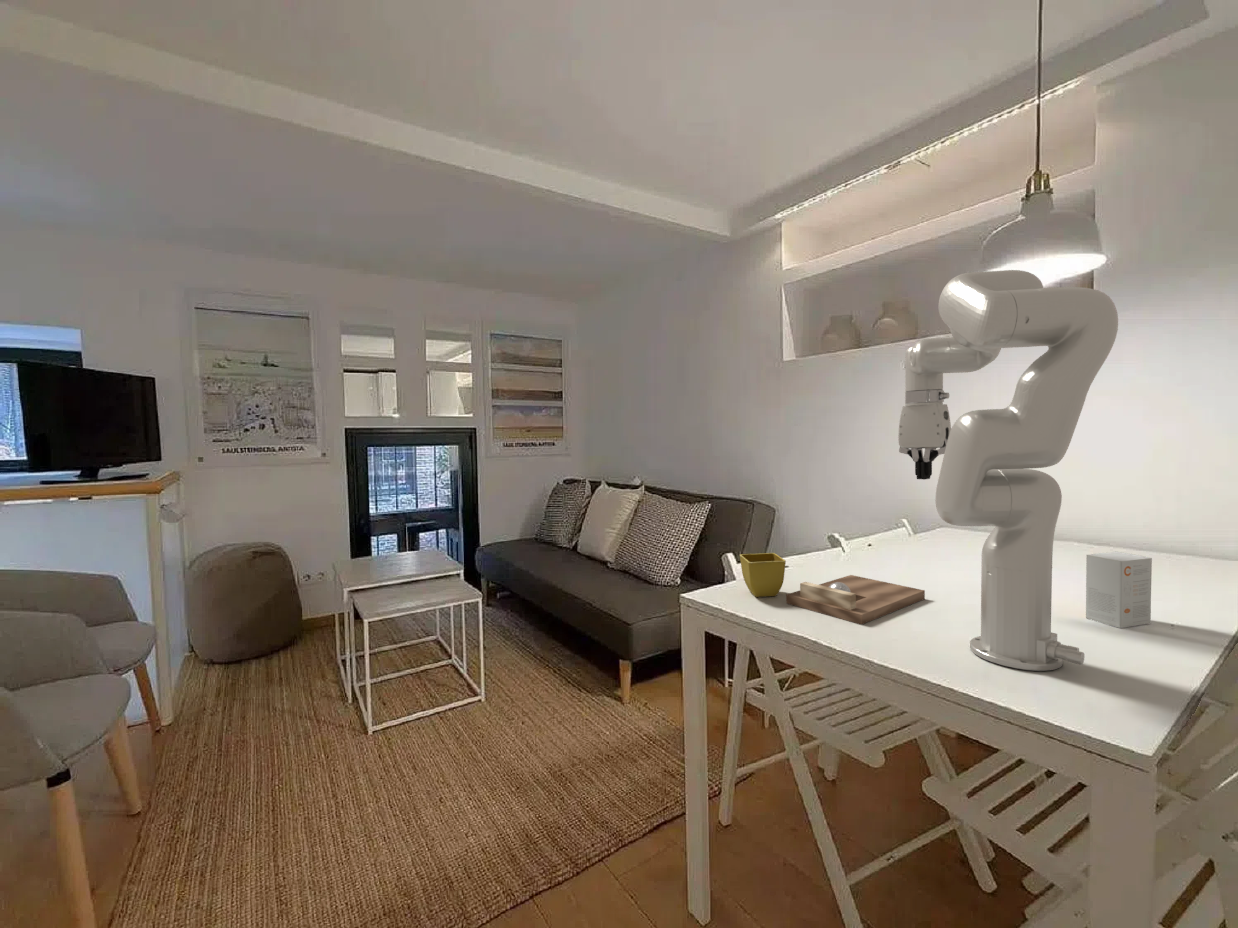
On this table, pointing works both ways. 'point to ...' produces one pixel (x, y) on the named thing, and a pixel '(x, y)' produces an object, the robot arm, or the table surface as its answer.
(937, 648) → the table surface
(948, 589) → the table surface
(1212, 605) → the table surface
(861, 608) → the walnut board
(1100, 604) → the small box
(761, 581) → the flower pot
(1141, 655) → the table surface
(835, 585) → the steel ball
